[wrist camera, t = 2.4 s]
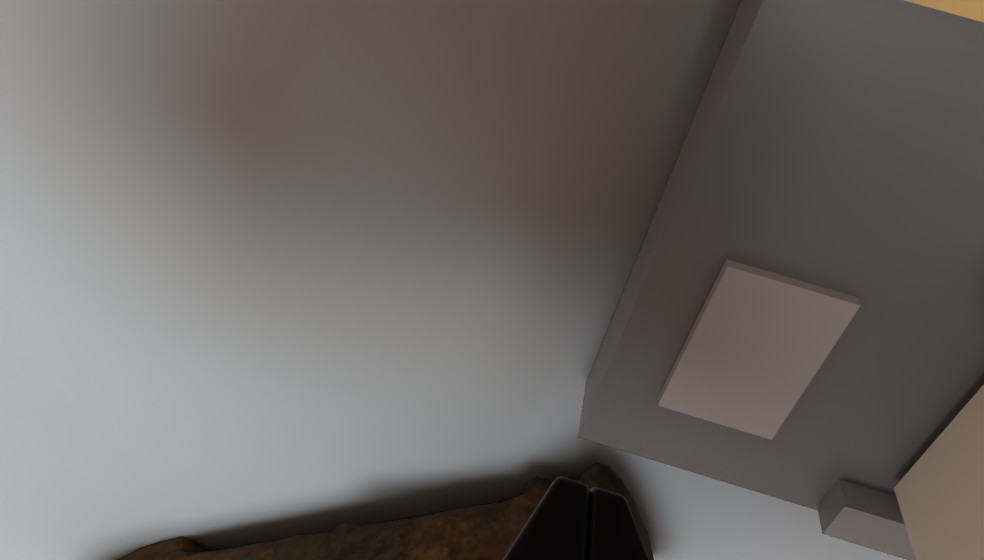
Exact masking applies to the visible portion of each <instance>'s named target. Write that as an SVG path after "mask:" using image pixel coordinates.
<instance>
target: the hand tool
mask: <svg viewBox="0 0 984 560" xmlns="http://www.w3.org/2000/svg"><path fill="white" fill-rule="evenodd" d="M578 481H579V482H582V483H585V484H587V485H588V487H589V489H591V488H593V487H598V488H601V489H605V490H608V491H611V492H614V493H618V494H620V495H622V496H623V497H624V498H625V499H626V500H627V502H628V504H629V507H630V510H631V512H632V515H633V518H634V520H635V523H636V526H637V528H638V531H639V533H640V536H641V539H642V541H643V544H644V547H645V549H646V552H647V555H648V557H649V560H654V558H653V553H652V549H651V544H650V540H649V536H648V533H647V531H646V529H645V528H644V527H643V525H642V523H641V520H640V517H639V514H638V511H637V508H636V505H635V502H634V500H633V499H632V497H631V495H630V494H629V492H628V491H627V489H626V487H625V486H624V484H623V483H622V481H621V480H620V479H619V478H618V477H617V476H616V475H615V474H614V473H613V472H612V470H611V469H610V468H609V467H607V466H605V465H600V464H595V465H594V466H592V467H591V468H590V469H588V470H587V471H586V472H585V473H584V474H583V475H582V476H581V477H580V479H579V480H578ZM551 484H552V482H551V481H549V480H547V479H545V478H542V477H538V476H536V477H535V478H534V479H532V480H531V481H530V482H528V483H527V484H526V486H525V488H524V490H523V492H522V494H521V495H520V496H517V497H515V498H513V499H510V500H507V501H500V502H497V503H491V504H484V505H477V506H471V507H466V508H461V509H455V510H450V511H445V512H440V513H435V514H430V515H424V516H419V517H414V518H408V519H402V520H396V521H389V522H383V523H377V524H372V525H347V524H344V523H342V524H341V525H339V526H338V527H337V528H335V529H334V530H333V531H331V532H323V533H315V534H300V535H294V536H292V537H289V538H286V539H283V540H278V541H272V542H265V543H258V544H251V545H246V546H240V547H235V548H229V549H223V550H217V551H210V550H209V549H207V548H206V547H205V546H204V545H202V544H200V543H199V542H197V541H195V540H192V539H189V538H186V537H177V538H173V539H169V540H165V541H161V542H158V543H155V544H152V545H149V546H146V547H143V548H141V549H139V550H136V551H134V552H132V553H130V554H128V555H126V556H124V557H122V558H120V559H118V560H503V558H504V557H505V555H506V554H507V552H508V551H509V549H510V547H511V546H512V544H513V543H514V541H515V540H516V538H517V537H518V535H519V534H520V532H521V530H522V529H523V527H524V526H525V524H526V523H527V521H528V520H529V518H530V516H531V515H532V513H533V512H534V510H535V509H536V507H537V506H538V504H539V503H540V501H541V499H542V498H543V496H544V495H545V493H546V492H547V490H548V489H549V487H550V486H551Z"/></svg>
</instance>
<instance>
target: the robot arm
mask: <svg viewBox="0 0 984 560" xmlns="http://www.w3.org/2000/svg"><path fill="white" fill-rule="evenodd" d="M503 560H649V557H648V555H647V552H646V549H645V547H644V544H643V541H642V539H641V536H640V533H639V531H638V528H637V526H636V523H635V520H634V518H633V515H632V512H631V510H630V507H629V504H628V502H627V500H626V499H625V498H624V497H623V496H622V495H620V494H618V493H614V492H611V491H608V490H605V489H601V488H598V487H593V488H591V489H589V487H588V485H587V484H585V483H582V482H579V481H575V480H572V479H569V478H566V477H563V476H559V477H557V478H555V480H554V481H553V482H552V484H551V486H550V487H549V489H548V490H547V492H546V493H545V495H544V496H543V498H542V499H541V501H540V503H539V504H538V506H537V507H536V509H535V510H534V512H533V513H532V515H531V516H530V518H529V520H528V521H527V523H526V524H525V526H524V527H523V529H522V530H521V532H520V534H519V535H518V537H517V538H516V540H515V541H514V543H513V544H512V546H511V547H510V549H509V551H508V552H507V554H506V555H505V557H504V558H503Z"/></svg>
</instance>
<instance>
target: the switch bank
mask: <svg viewBox="0 0 984 560" xmlns="http://www.w3.org/2000/svg"><path fill="white" fill-rule="evenodd" d="M983 385H984V0H741V3H740V5H739V8H738V10H737V12H736V15H735V17H734V20H733V22H732V25H731V27H730V30H729V32H728V35H727V37H726V40H725V42H724V44H723V47H722V49H721V52H720V54H719V57H718V59H717V62H716V64H715V67H714V69H713V72H712V74H711V76H710V79H709V81H708V84H707V86H706V89H705V91H704V94H703V96H702V99H701V101H700V104H699V106H698V108H697V111H696V113H695V116H694V118H693V121H692V123H691V126H690V128H689V131H688V133H687V136H686V138H685V140H684V143H683V145H682V148H681V150H680V153H679V155H678V158H677V160H676V163H675V165H674V168H673V170H672V173H671V175H670V177H669V180H668V182H667V185H666V187H665V190H664V192H663V195H662V197H661V200H660V202H659V205H658V207H657V209H656V212H655V214H654V217H653V219H652V222H651V224H650V227H649V229H648V232H647V234H646V237H645V239H644V241H643V244H642V246H641V249H640V251H639V254H638V256H637V259H636V261H635V264H634V266H633V269H632V271H631V273H630V276H629V278H628V281H627V283H626V286H625V288H624V291H623V293H622V296H621V298H620V301H619V303H618V305H617V308H616V310H615V313H614V315H613V318H612V320H611V323H610V325H609V328H608V330H607V333H606V335H605V338H604V340H603V342H602V345H601V347H600V350H599V352H598V355H597V357H596V360H595V362H594V365H593V367H592V370H591V372H590V374H589V377H588V379H587V382H586V387H585V394H584V400H583V407H582V414H581V421H580V428H579V435H578V437H579V438H583V439H586V440H589V441H592V442H596V443H599V444H602V445H605V446H609V447H612V448H615V449H619V450H622V451H625V452H628V453H632V454H635V455H638V456H641V457H645V458H648V459H651V460H655V461H658V462H661V463H664V464H668V465H671V466H674V467H678V468H681V469H684V470H687V471H691V472H694V473H697V474H700V475H704V476H707V477H710V478H714V479H717V480H720V481H723V482H727V483H730V484H733V485H736V486H740V487H743V488H746V489H750V490H753V491H756V492H759V493H763V494H766V495H769V496H772V497H776V498H779V499H782V500H786V501H789V502H792V503H795V504H799V505H802V506H805V507H808V508H812V509H815V510H818V512H819V517H820V522H821V528H822V533H823V534H826V535H829V536H832V537H835V538H839V539H842V540H845V541H848V542H852V543H855V544H858V545H861V546H865V547H868V548H871V549H874V550H878V551H881V552H884V553H887V554H891V555H894V556H897V557H901V558H904V559H907V560H916V559H915V556H914V552H913V549H912V546H911V543H910V539H909V536H908V533H907V530H906V526H905V523H904V520H903V517H902V514H901V510H900V507H899V504H898V501H897V497H896V494H895V491H894V487H895V486H896V485H897V484H898V483H899V482H900V480H901V479H902V478H903V477H904V476H905V475H906V474H907V472H908V471H909V470H910V469H911V468H912V467H913V465H914V464H915V463H916V462H917V461H918V460H919V458H920V457H921V456H922V455H923V454H924V453H925V452H926V450H927V449H928V448H929V447H930V446H931V445H932V443H933V442H934V441H935V440H936V439H937V438H938V437H939V435H940V434H941V433H942V432H943V431H944V430H945V428H946V427H947V426H948V425H949V424H950V423H951V422H952V420H953V419H954V418H955V417H956V416H957V415H958V413H959V412H960V411H961V410H962V409H963V408H964V406H965V405H966V404H967V403H968V402H969V401H970V400H971V398H972V397H973V396H974V395H975V394H976V393H977V391H978V390H979V389H980V388H981V387H982V386H983Z"/></svg>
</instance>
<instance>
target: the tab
mask: <svg viewBox="0 0 984 560" xmlns="http://www.w3.org/2000/svg"><path fill="white" fill-rule="evenodd" d="M894 491H895V494H896V497H897V501H898V504H899V507H900V510H901V514H902V517H903V520H904V523H905V526H906V530H907V533H908V536H909V539H910V543H911V546H912V549H913V552H914V556H915V559H916V560H984V385H983V386H982V387H981V388H980V389H979V390H978V391H977V393H976V394H975V395H974V396H973V397H972V398H971V400H970V401H969V402H968V403H967V404H966V405H965V406H964V408H963V409H962V410H961V411H960V412H959V413H958V415H957V416H956V417H955V418H954V419H953V420H952V422H951V423H950V424H949V425H948V426H947V427H946V428H945V430H944V431H943V432H942V433H941V434H940V435H939V437H938V438H937V439H936V440H935V441H934V442H933V443H932V445H931V446H930V447H929V448H928V449H927V450H926V452H925V453H924V454H923V455H922V456H921V457H920V458H919V460H918V461H917V462H916V463H915V464H914V465H913V467H912V468H911V469H910V470H909V471H908V472H907V474H906V475H905V476H904V477H903V478H902V479H901V480H900V482H899V483H898V484H897V485H896V486H895V487H894Z"/></svg>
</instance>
